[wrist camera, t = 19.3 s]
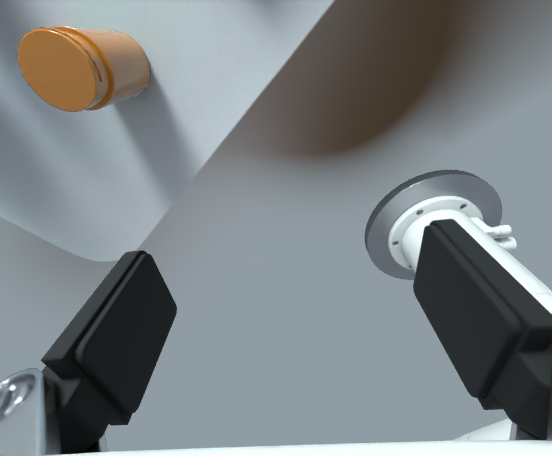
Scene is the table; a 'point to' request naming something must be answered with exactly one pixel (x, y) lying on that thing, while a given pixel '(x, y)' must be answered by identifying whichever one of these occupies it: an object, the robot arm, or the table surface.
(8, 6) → the table surface
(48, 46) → the jar
